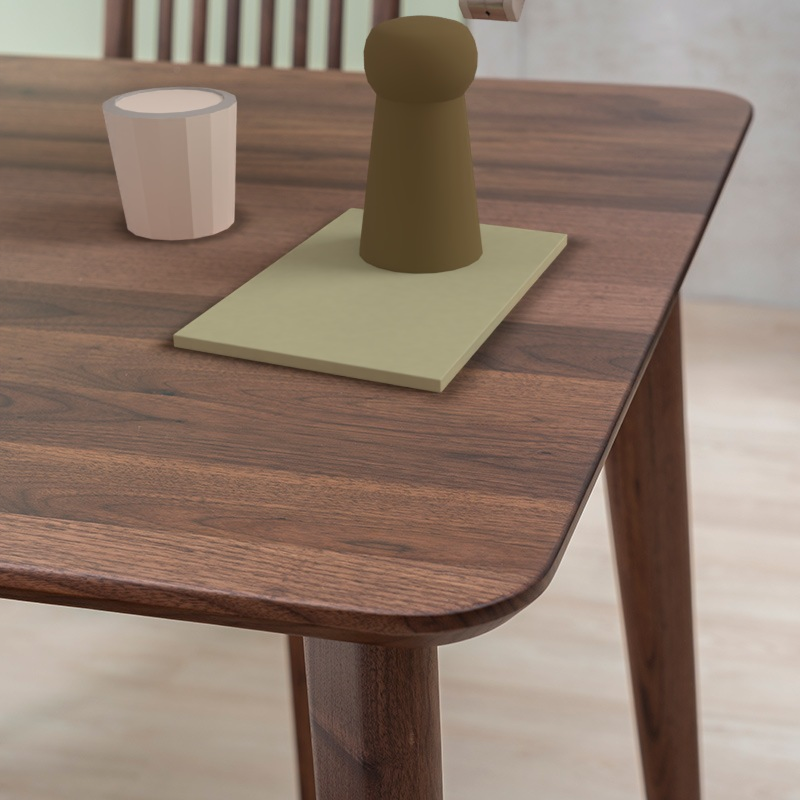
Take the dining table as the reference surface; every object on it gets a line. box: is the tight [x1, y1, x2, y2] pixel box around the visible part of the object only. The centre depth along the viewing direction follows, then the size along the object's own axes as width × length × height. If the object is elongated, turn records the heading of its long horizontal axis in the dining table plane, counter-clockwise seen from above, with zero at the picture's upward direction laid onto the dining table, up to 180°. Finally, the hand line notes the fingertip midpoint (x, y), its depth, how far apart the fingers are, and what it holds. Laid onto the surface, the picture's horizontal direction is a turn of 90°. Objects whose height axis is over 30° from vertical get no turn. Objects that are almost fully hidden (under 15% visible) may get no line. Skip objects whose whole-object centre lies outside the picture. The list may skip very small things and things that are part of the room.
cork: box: [359, 14, 483, 274], centre depth 59 cm, size 6×6×11 cm
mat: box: [172, 207, 568, 394], centre depth 58 cm, size 18×12×1 cm, turn 158°
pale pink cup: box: [101, 86, 238, 241], centre depth 66 cm, size 7×7×7 cm
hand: (487, 13), depth 64 cm, fingers closed
